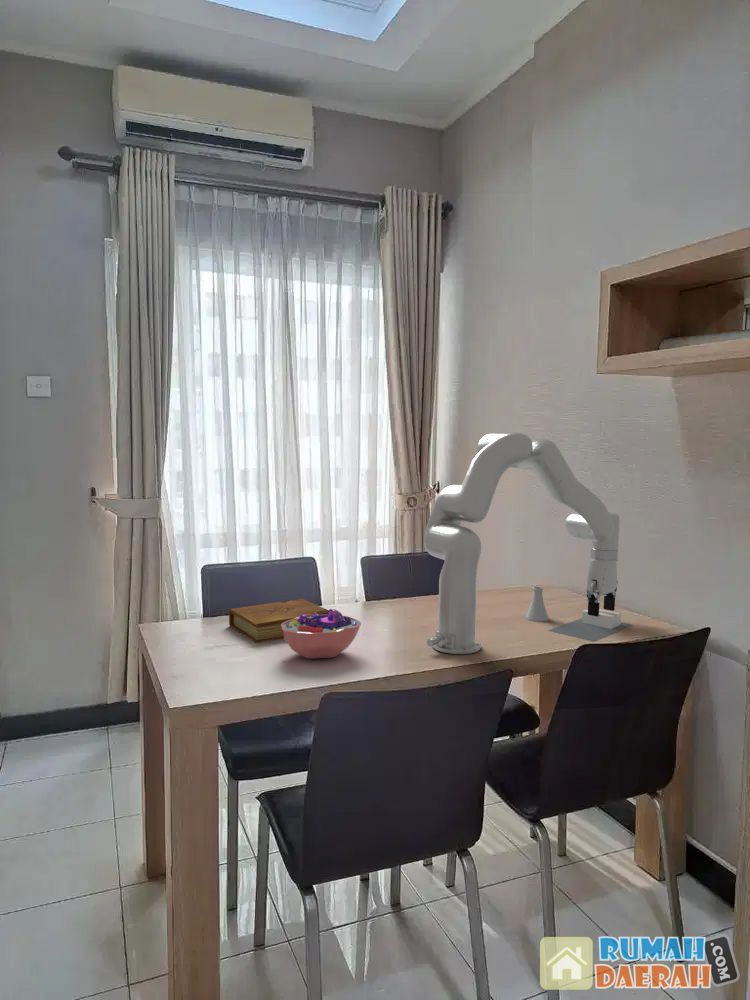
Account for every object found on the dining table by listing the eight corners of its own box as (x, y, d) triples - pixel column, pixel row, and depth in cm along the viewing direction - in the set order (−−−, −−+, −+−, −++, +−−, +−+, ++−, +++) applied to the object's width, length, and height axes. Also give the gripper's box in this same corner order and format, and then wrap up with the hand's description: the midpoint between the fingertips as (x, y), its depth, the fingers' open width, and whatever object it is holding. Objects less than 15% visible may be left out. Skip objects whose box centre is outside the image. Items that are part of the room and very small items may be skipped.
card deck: (581, 622, 202) (582, 610, 201) (591, 618, 206) (592, 607, 206) (610, 628, 195) (611, 616, 195) (620, 625, 200) (620, 612, 199)
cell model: (272, 650, 174) (272, 606, 173) (345, 641, 182) (346, 599, 181) (291, 671, 158) (291, 623, 157) (371, 661, 166) (371, 615, 165)
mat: (594, 643, 183) (594, 641, 183) (547, 632, 193) (547, 630, 193) (633, 626, 200) (633, 624, 200) (588, 617, 210) (588, 615, 210)
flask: (547, 617, 209) (548, 585, 208) (550, 624, 202) (552, 590, 201) (523, 616, 209) (524, 584, 209) (525, 623, 202) (527, 589, 201)
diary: (301, 616, 207) (301, 598, 207) (332, 631, 192) (332, 611, 191) (229, 627, 195) (229, 607, 194) (256, 644, 179) (256, 623, 179)
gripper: (605, 550, 207) (602, 605, 209) (577, 556, 195) (574, 615, 197) (629, 553, 202) (626, 610, 204) (602, 560, 190) (599, 620, 191)
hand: (601, 612), depth 200 cm, fingers open, 9 cm apart
